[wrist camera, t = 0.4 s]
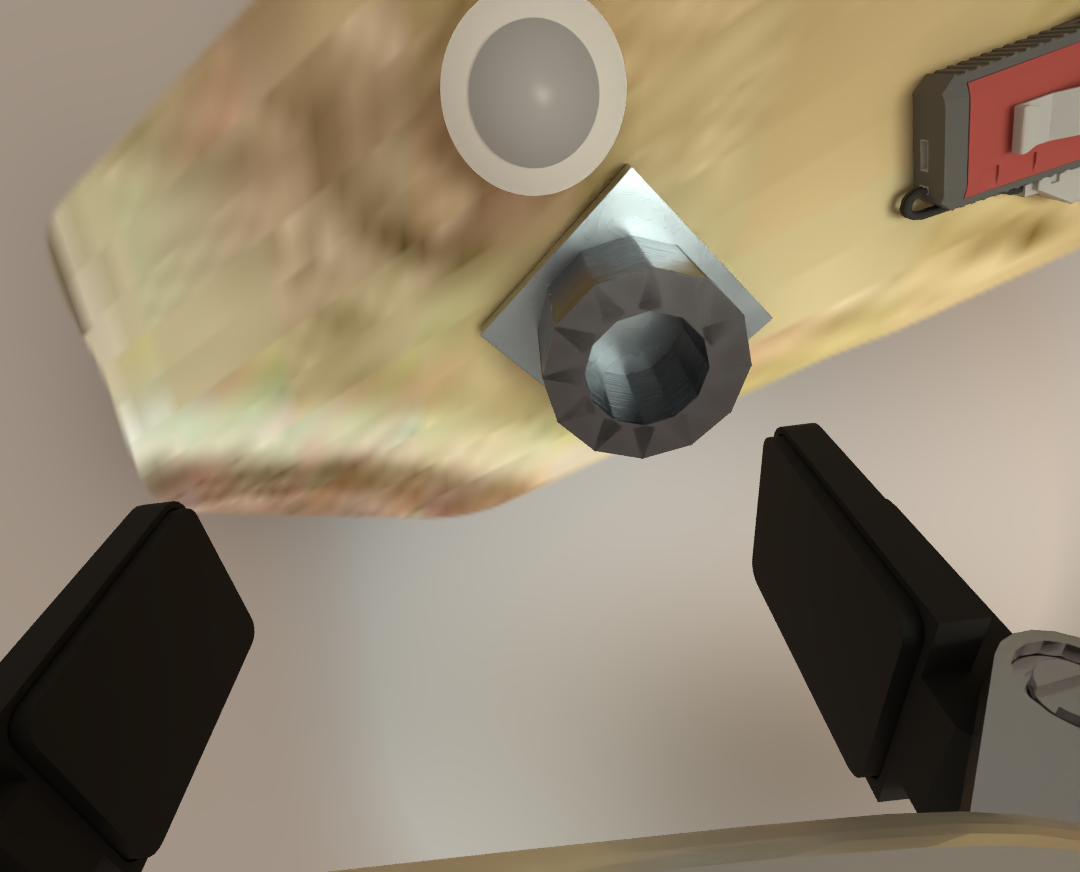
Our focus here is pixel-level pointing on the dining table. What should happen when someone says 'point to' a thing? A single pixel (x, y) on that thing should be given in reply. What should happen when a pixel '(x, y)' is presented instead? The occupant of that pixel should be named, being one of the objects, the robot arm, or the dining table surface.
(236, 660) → the robot arm
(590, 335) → the gray square-based holder
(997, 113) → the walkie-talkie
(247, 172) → the dining table surface
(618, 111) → the cup
